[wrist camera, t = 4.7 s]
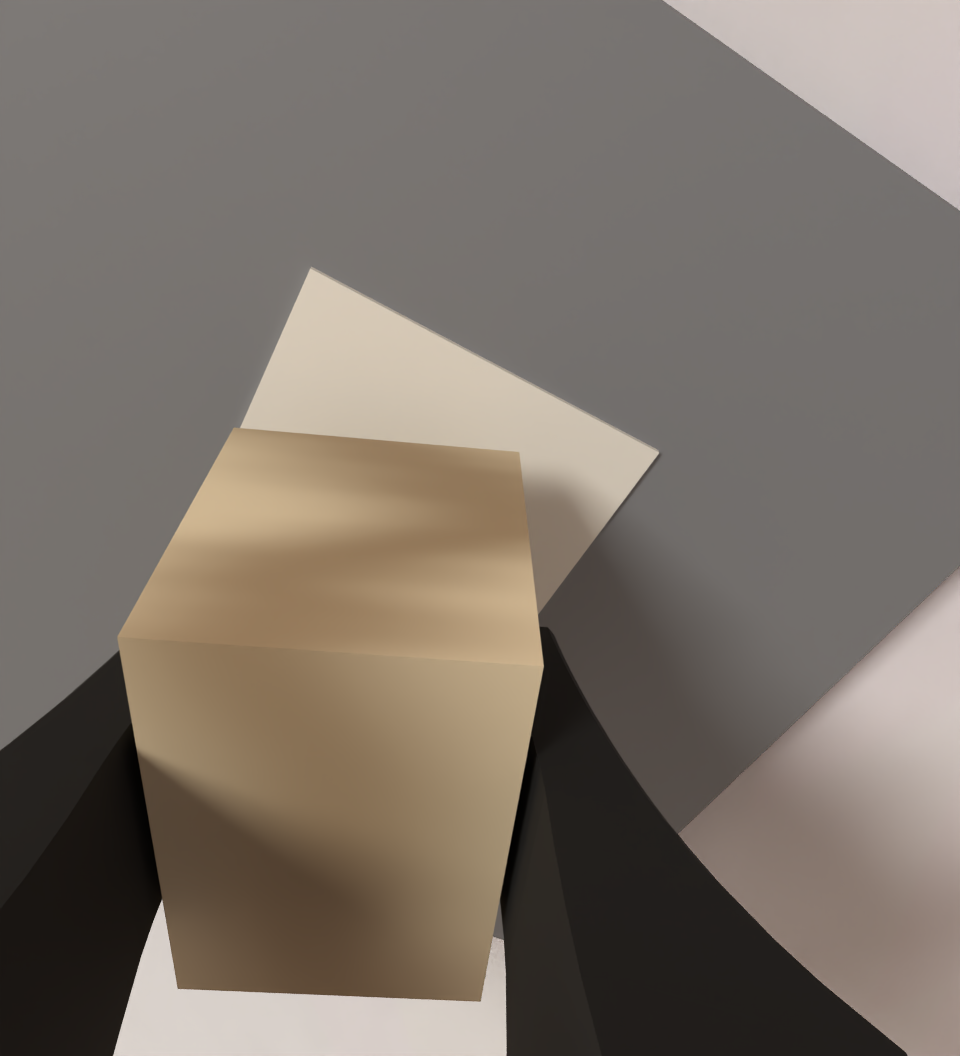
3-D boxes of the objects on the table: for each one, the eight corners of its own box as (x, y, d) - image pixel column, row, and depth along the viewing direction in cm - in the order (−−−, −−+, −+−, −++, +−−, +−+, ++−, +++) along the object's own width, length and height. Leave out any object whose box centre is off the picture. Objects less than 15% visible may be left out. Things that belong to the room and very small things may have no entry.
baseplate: (1129, 339, 13) (1178, 364, 12) (547, 917, 22) (551, 958, 21) (-20, -468, 9) (-82, -528, 8) (-199, 671, 17) (-238, 710, 16)
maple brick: (518, 451, 12) (543, 666, 8) (477, 747, 15) (480, 1001, 11) (233, 427, 11) (117, 636, 8) (253, 733, 15) (178, 988, 11)
